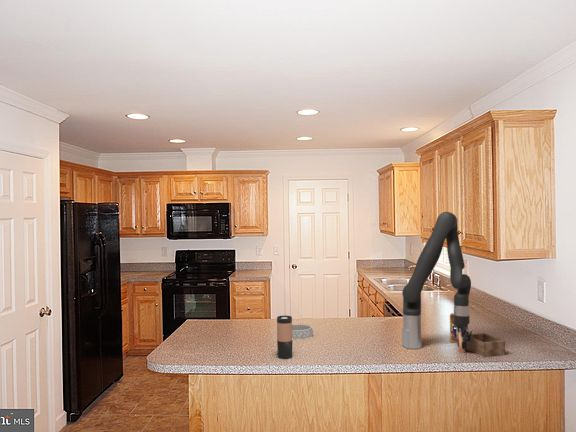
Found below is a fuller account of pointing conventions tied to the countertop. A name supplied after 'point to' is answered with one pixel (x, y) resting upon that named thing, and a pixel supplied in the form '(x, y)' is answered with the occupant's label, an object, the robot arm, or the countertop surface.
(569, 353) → the countertop surface
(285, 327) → the travel mug
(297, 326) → the dog bowl
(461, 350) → the peg
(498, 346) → the open box
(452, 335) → the candy box
